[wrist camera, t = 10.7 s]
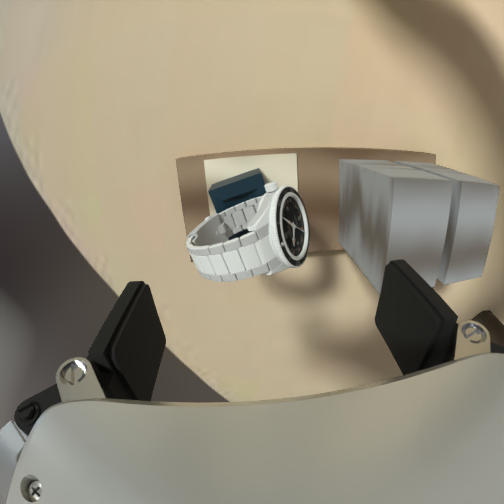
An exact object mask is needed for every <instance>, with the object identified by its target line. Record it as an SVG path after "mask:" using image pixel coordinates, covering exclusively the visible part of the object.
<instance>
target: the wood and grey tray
mask: <svg viewBox="0 0 504 504" xmlns="http://www.w3.org/2000/svg"><path fill="white" fill-rule="evenodd" d="M435 163H436V155H435V154H430V153H423V152H413V151H402V150H388V149H371V148H333V147H318V148H280V149H261V150H247V151H235V152H224V153H214V154H205V155H197V156H189V157H182V158H178V159H176V164H177V172H178V180H179V188H180V195H181V202H182V209H183V215H184V222H185V228H186V234H187V236H188V235H189V234H190V232H191V231H193V230H194V229H195V228H196V227H197V226H198V225H199V224H200V223H202V222H203V221H204V220H205V218H206V217H208V216H211V215H213V214H214V213H215V214H217V213H216V210H215V208H214V205H213V203H212V200H211V198H210V195H209V193H208V191H209V189H210V187H211V185H212V184H214V183H217V182H220V181H222V180H225V179H228V178H231V177H234V176H236V175H239V174H242V173H245V172H248V171H251V170H254V169H257V168H259V169H260V171H261V173H262V176H263V178H264V182H265V183H266V184H267V183H270V182H274V181H276V182H277V184H278V187H279V188H280V187H282V186H287V185H289V186H291V187H293V188H295V189H296V190H297V192H298V193H299V195H300V196H301V198H302V200H303V203H304V205H305V208H306V211H307V215H308V221H309V230H310V241H309V249H308V253H309V252H321V251H333V250H344V249H345V250H346V252H347V253H348V254H349V255H350V257H351V258H352V259H353V261H354V262H355V263H356V264H357V266H358V267H359V268H360V270H361V271H362V272H363V273H364V275H365V276H366V277H367V279H368V280H369V281H370V283H371V284H372V285H373V287H374V288H375V289H376V291H377V292H378V293H379V295H380V293H381V288H382V282H383V277H384V271H385V266H386V265H387V264H389V262H390V261H391V260H400V259H404V260H405V261H406V262H407V263H408V264H409V265H410V266H411V267H412V268H413V269H414V270H415V271H416V272H417V273H418V274H419V275H420V276H421V277H422V278H423V279H424V280H425V281H426V282H427V283H428V284H429V285H430V286H431V287H435V283H436V280H437V279H438V280H439V281H440V282H441V283H442V284H443V285H445V284H450V283H455V282H460V281H465V280H469V279H474V278H478V277H482V273H483V270H484V266H485V262H486V258H487V255H488V250H489V246H490V242H491V237H492V232H493V227H494V222H495V216H496V210H497V203H498V195H499V187H500V186H499V185H497V184H494V183H491V182H489V181H486V180H483V179H480V178H477V177H474V176H471V175H468V174H465V173H462V172H459V171H456V170H453V169H449V168H446V167H443V166H439V165H436V164H435ZM187 240H188V239H187ZM240 256H241V255H240ZM190 258H191V262H194V261H193V259H192V257H191V255H190Z"/></svg>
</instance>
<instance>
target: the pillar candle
mask: <svg viewBox="0 0 504 504" xmlns="http://www.w3.org/2000/svg"><path fill="white" fill-rule="evenodd" d="M472 321H476V322H478V323H480V324H482V325H483V326H484V327H485V328H486V329H487V330H488V332H489V335H490V342H492V343H495V344H498V345H501V346H504V325H503V324H502V323H501V322H500V321H499V320H498V319H497V318H496V317H495V316H494V315H493V314H492V312H491V311H483V312H481V313H480V314H478V315H477V316H476V317H475V318H473V319H472Z"/></svg>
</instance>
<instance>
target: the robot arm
mask: <svg viewBox="0 0 504 504" xmlns="http://www.w3.org/2000/svg"><path fill="white" fill-rule="evenodd" d="M457 318H458V316H457V315H456V314H455V313H454V312H453V310H452V309H451V308H450V307H449V306H448V305H447V304H446V303H445V301H444V300H443V299H442V298H441V297H440V296H439V295H438V294H437V293H436V292H435V291H434V290H433V289H432V287H431V286H430V285H429V284H428V283H427V282H426V281H425V280H424V279H423V278H422V277H421V276H420V275H419V274H418V273H417V272H416V271H415V270H414V269H413V268H412V267H411V266H410V265H409V264H408V263H407V262H406V261H405V260H404V259H400V260H391V261H390V262H389V264H387V265H386V266H385V271H384V277H383V282H382V288H381V293H380V298H379V303H378V307H377V312H376V316H375V323H376V326H377V328H378V329H379V331H380V333H381V335H382V336H383V338H384V340H385V342H386V344H387V345H388V347H389V349H390V351H391V353H392V354H393V356H394V358H395V360H396V362H397V364H398V366H399V368H400V369H401V371H402V373H403V376H399V377H396V378H392V379H388V380H384V381H380V382H376V383H372V384H367V385H363V386H358V387H353V388H348V389H343V390H338V391H332V392H326V393H320V394H314V395H307V396H299V397H291V398H282V399H272V400H260V401H246V402H223V403H181V402H178V403H177V402H153V401H150V400H151V396H152V392H153V389H154V385H155V381H156V377H157V373H158V370H159V366H160V362H161V359H162V355H163V352H164V348H165V344H166V338H165V334H164V331H163V328H162V325H161V322H160V319H159V316H158V313H157V310H156V307H155V304H154V300H153V297H152V294H151V290H150V287H149V285H148V284H145V283H144V282H143V281H133V282H129V283H128V284H127V286H126V287H125V289H124V290H123V292H122V294H121V295H120V297H119V299H118V300H117V302H116V304H115V305H114V307H113V309H112V311H111V312H110V314H109V316H108V317H107V319H106V321H105V322H104V324H103V326H102V328H101V330H100V331H99V333H98V335H97V337H96V339H95V341H94V342H93V344H92V346H91V348H90V350H89V355H88V357H87V359H85V358H81V357H77V358H72V359H69V360H68V361H66V362H64V363H63V364H62V365H61V366H60V368H59V369H58V371H57V374H56V381H57V384H55V385H53V386H51V387H49V388H48V389H46V390H44V391H42V392H40V393H38V394H36V395H34V396H32V397H30V398H29V399H27V400H25V401H23V402H22V403H21V404H20V405H19V406H18V407H17V410H16V411H15V416H14V418H15V422H14V423H13V422H12V421H9V422H8V423H7V424H6V425H5V426H4V427H3V428H2V429H1V430H0V495H1V496H2V498H3V500H4V502H5V503H6V504H504V346H501V345H498V344H495V343H492V342H490V335H489V332H488V330H487V329H486V328H485V327H484V326H483V325H482V324H480V323H478V322H476V321H472V320H465V321H463V322H461V323H460V324H459V325H458V324H457V323H456V321H457Z"/></svg>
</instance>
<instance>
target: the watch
mask: <svg viewBox="0 0 504 504" xmlns="http://www.w3.org/2000/svg"><path fill="white" fill-rule="evenodd" d="M208 193H209V195H210V198H211V200H212V203H213V205H214V208H215V210H216V213H217V214H215V213H214V214H213V215H211V216H208V217H206V218H205V220H204V221H203V222H202V223H200V224H199V225H198V226H197V227H196V228H195V229H194V230H193V231H191V232H190V234H189V235H188V236H187V239H188V240H187V242H186V246H187V248H188V250H189V253H190V255H191V257H192V259H193V261H194V263H195V265H196V268H197V270H198V272H199V274H200V275H201V276H203V277H204V278H206V279H208V280H212V281H217V282H223V281H224V282H230V281H237V280H242V279H247V278H251V277H253V275H254V276H257V275H260V274H263V273H264V274H265V275H272V274H275V273H278V272H281V271H283V270H285V269H288V268H290V267H291V268H297V267H300V266H301V265H302V264H303V263H304V261H305V259H306V257H307V254H308V249H309V241H310V230H309V221H308V215H307V211H306V208H305V205H304V203H303V200H302V198H301V196H300V195H299V193H298V192H297V190H296V189H295V188H293V187H291V186H289V185H287V186H282V187H280V188H279V187H278V184H277V182H276V181H274V182H270V183H267V184H266V183H265V182H264V178H263V176H262V173H261V171H260V169H259V168H257V169H254V170H251V171H248V172H245V173H242V174H239V175H236V176H234V177H231V178H228V179H225V180H222V181H220V182H217V183H214V184H212V185H211V187H210V189H209V191H208ZM240 255H241V256H240ZM242 260H243V261H242ZM244 265H245V266H244ZM251 269H252V270H251ZM252 272H253V273H252Z"/></svg>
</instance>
